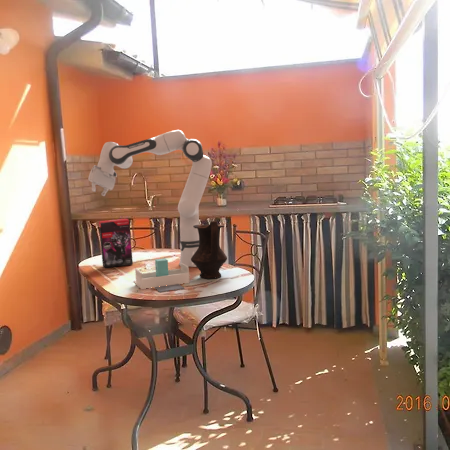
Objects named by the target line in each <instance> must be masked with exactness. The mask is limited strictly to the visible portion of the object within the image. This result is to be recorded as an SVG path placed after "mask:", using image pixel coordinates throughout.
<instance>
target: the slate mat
mask: <svg viewBox="0 0 450 450" xmlns="http://www.w3.org/2000/svg"><path fill="white" fill-rule="evenodd" d="M153 289H155V290H156V289H157V290H158V291H159V292H160V293H163V292H162V291H167V292H170V291H169V290H174V291H176V290H175V289H181V290H185V287H183V286H182V284H174V285H167V286H160V287H154V288H153ZM157 290H156V291H157ZM158 291H157V292H158ZM159 292H158V293H159Z"/></svg>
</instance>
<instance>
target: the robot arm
mask: <svg viewBox="0 0 450 450" xmlns="http://www.w3.org/2000/svg"><path fill="white" fill-rule="evenodd" d="M175 151H182V153H183V155H184V156H185V157H186V158H188V159H189V160H190V161H192V164H191V165H192V166H191V169H190V172H189V175H188V176H187V180H186V182H185V186H184V188H183V191H182V193H181V196H180V198H179V202H178V205H177V211H178V213H179V234H180V236H179V237H180V238H179V239H180V240H179V249H180V256H179V257H180V258H179V263H178V265H179V266H180V267H181V264H180V263H183V264H184V265H186V266H188V267H192V268H193V267H194V268H197V266H196V265H195V264H194V263H193V262H192V261H191V258H192V256H193V255H194V253H195V252H196V251H197V249H198V248H199V244H200V243H199V242H200V241H199V233H198V229H197V228H194V227H193V226H194V225H200V211H199V210H200V209H199V206H200V203H201V200H202V197H203V195H204V192H205V189H206V186H207V183H208V180H209V177H210V174H211V170H212V167H213V166H212V165H213V161H212V159H211V157H209V156H206V155H205V154H204V149H203V145H202V143H201V141H199V140H198V139H196V138H190V139H189V138H187V137H186V135H185V133H184V132H183V131H182V130H180V129H175V130H170V131H167V132H164V133H161V134H158V135H156V136H154V137H151V138H148V139H143V140H140V141H136V142H133V143H130V144H125V145H120V144H119V143H117V142H114V141H107V142H106V141H105V143H104V144H103V146H102V148H101V151H100V155H99V160H98V163H97V165H93V166H92V168H91V170H90V172H89V175H88V182H90V183H91V192H94V193H96V191H97V188H96V186H99V187H101V188H103V191H102V192H101V196H103V197H106V194H107V193H108V192H109V191H112V190H114V187H115V185H116V178H117V176H118V174H117V172H116V171H115V169H114V167H118V168H120V169H125V170H126V169H129V168H130V167H132V165H133V161H134V159H133V156H136V155H141V154H143V153H151V154H154V155H156V156H162V155H167V154H170V153H172V152H175Z"/></svg>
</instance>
